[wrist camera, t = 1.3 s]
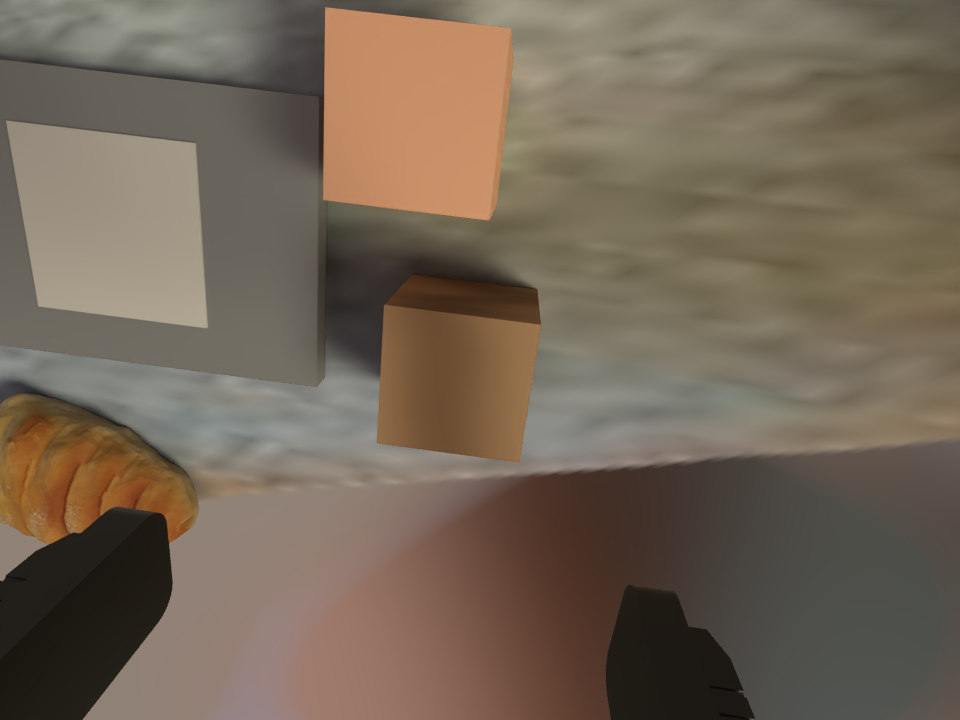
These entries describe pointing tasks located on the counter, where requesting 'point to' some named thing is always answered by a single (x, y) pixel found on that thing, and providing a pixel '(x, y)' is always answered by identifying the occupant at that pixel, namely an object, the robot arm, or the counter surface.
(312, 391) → the counter surface
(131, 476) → the pastry
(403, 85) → the terracotta block
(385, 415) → the walnut block
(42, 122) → the plate
